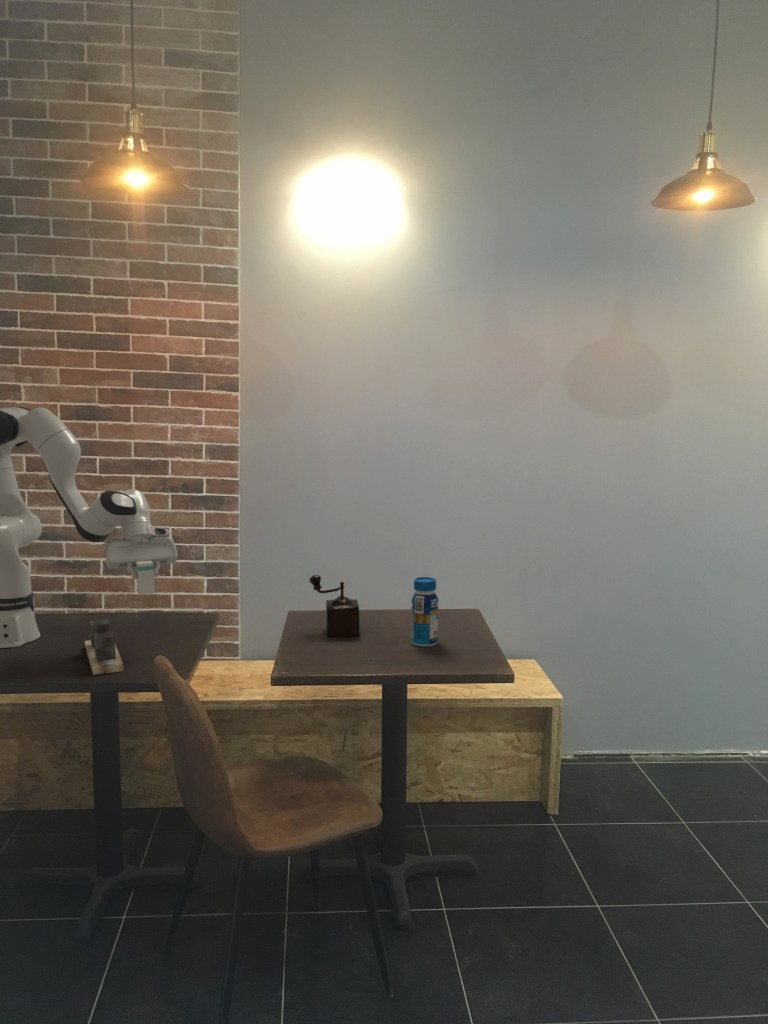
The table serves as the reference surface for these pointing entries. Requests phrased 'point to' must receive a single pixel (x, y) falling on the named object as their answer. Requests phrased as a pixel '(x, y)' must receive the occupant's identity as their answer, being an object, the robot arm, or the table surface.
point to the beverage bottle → (424, 612)
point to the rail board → (96, 663)
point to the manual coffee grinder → (339, 612)
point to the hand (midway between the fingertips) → (145, 576)
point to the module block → (145, 577)
